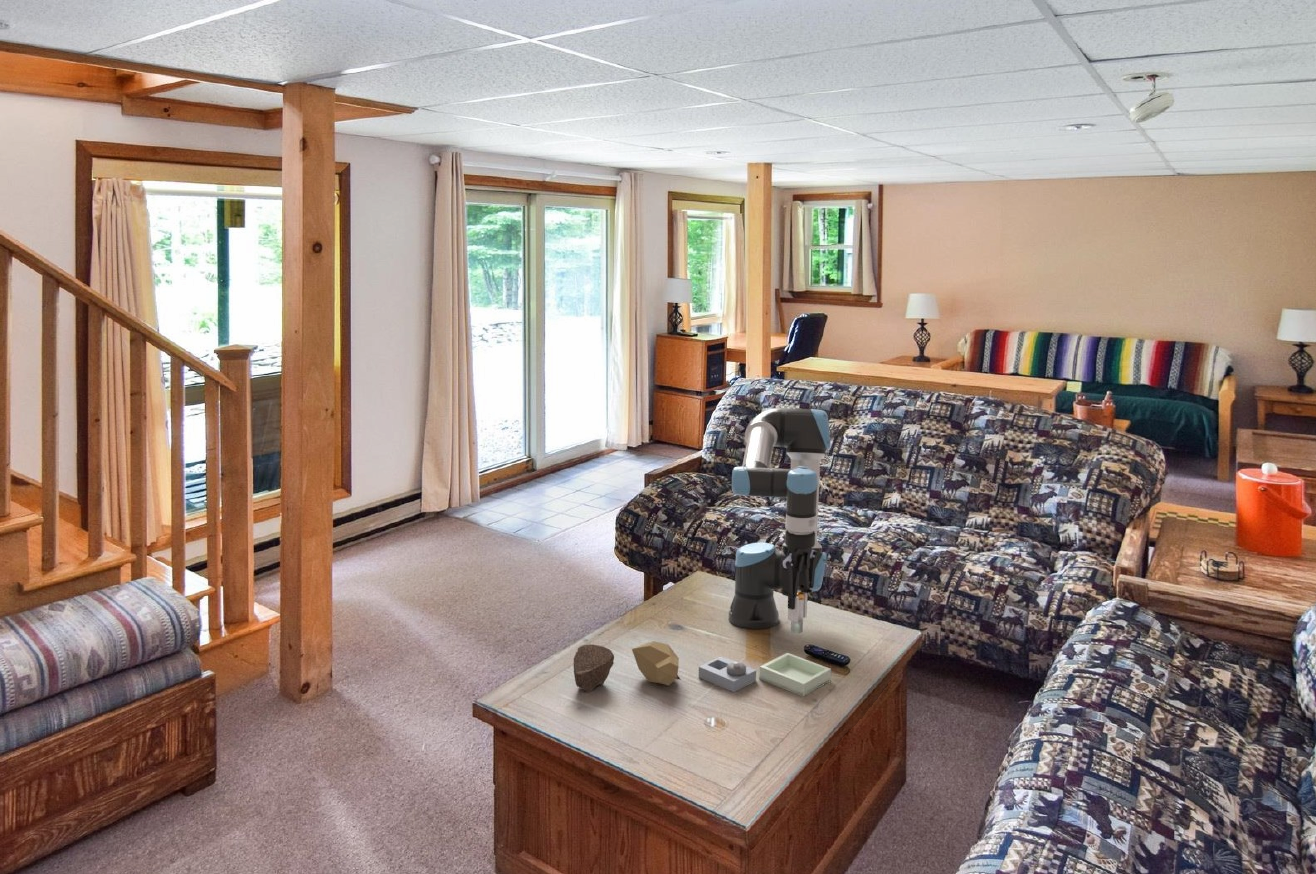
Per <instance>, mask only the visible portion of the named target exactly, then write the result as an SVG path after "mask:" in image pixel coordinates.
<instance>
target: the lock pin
mask: <svg viewBox="0 0 1316 874" xmlns="http://www.w3.org/2000/svg"><path fill="white" fill-rule="evenodd" d="M797 597H799V610H798V621H797V622H795V621H792V620H790V632H791V633H793V634H801V633H803V632H804V631H803V630H804V618H803V609H804V593H803V592H798V591H797Z"/></svg>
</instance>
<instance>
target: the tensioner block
mask: <svg viewBox="0 0 1316 874" xmlns="http://www.w3.org/2000/svg"><path fill="white" fill-rule="evenodd" d="M698 678H699V679H702V680H704V681H707V682H709V683H711V684H714V685H715V686H718V687H721V688H723V689H725V690H727V691H729V692H732V693H735V692H737V691H739V690H741V689H743V688H745V687H746V686H749V685H750V684H752V683H754V682H756V681H757V670H756V669H754V668H751V667H750V666H747V665H745V664H744V663H741V662H740V661H735V660H732V659H729V658H727V657H724V656H722V655H721V656H718V657H716V658H715V659H714V658H713V659H711V660H710V661H708V662H706V663H703V664H701V665H699V666H698Z"/></svg>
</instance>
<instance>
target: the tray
mask: <svg viewBox="0 0 1316 874" xmlns="http://www.w3.org/2000/svg"><path fill="white" fill-rule="evenodd" d="M831 674H832V669H831V668H829V667H827V666H824V665H821V664H820V663H816V662H813V661H812V660H808V659H806V658H804V657H803V658H802V657H801V656H798V655H796V654H795V655H794V654H792V653H789V652H785V653H784V654H782V655H780V656H778V657H776V658H774V659H772V660H770V661H768V662H766V663H764V664H761V666H759V680H761V681H764V682H766V683H769V684H771V685H773V686H776V687H778V688H780V689H783V690H785V691H788V692H791V693H793V694H795V693H796V695H798V696H800V697H802V696H804V697H805V695H806V696H807V695H809V694H811V693H812V691H813V692H815V691H816V690H817V689H816V688H818V689H820V688H822V687H823V686H824V685H823V684H825V683H827V682H828V683H830V682H831V678H832V675H831ZM829 681H830V682H829ZM828 683H827V684H828ZM822 685H823V686H822ZM825 685H826V684H825ZM819 687H820V688H819ZM815 689H816V690H815ZM810 692H811V693H810ZM808 693H809V694H808Z"/></svg>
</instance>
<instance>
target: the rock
mask: <svg viewBox="0 0 1316 874" xmlns="http://www.w3.org/2000/svg"><path fill="white" fill-rule="evenodd" d="M614 660H615V655H614V653H613V652H612V650H611V649H609V648H608V647H606V646H603V645H598V644H583V645H581V646H579V647H577V650H576V652H575V654H574V656H573V675H574V681H575V685H576V687H577V688H580V689H581V690H583V691H584V692H591V691H593V690H594V688H596V687H597V686H601V685H604V684H605V681H606V680H607V679H608V677H609V674H610V672H611V668H612V667H613V666H614V664H615V662H614Z"/></svg>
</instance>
